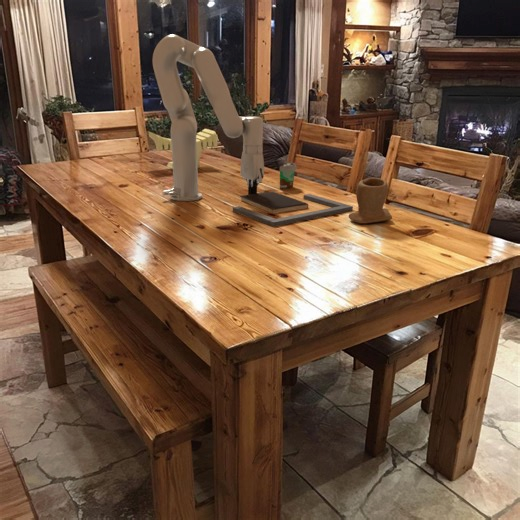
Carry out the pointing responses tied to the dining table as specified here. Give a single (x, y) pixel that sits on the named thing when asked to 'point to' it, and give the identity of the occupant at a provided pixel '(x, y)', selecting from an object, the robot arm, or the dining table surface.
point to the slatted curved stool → (202, 138)
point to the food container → (287, 175)
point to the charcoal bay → (300, 217)
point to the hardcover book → (274, 202)
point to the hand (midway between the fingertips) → (252, 195)
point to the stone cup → (371, 201)
